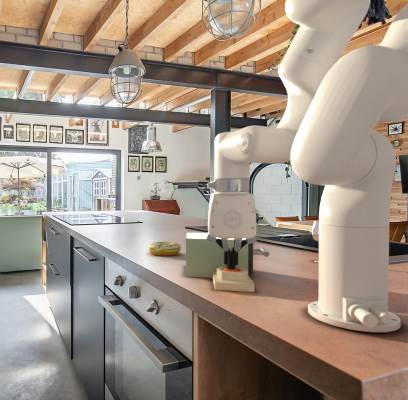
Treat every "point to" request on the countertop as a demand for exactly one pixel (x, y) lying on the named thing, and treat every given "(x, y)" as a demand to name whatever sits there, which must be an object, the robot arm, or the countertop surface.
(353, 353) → the countertop surface
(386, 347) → the countertop surface
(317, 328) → the countertop surface
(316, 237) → the wineglass
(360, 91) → the robot arm
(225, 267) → the button
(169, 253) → the decorated donut
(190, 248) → the green drawer cabinet
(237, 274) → the block
